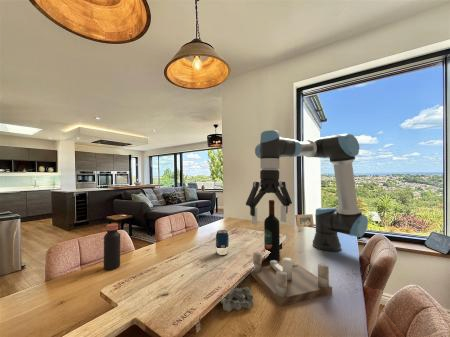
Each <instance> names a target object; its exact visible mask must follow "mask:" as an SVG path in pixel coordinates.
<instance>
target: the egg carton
mask: <svg viewBox="0 0 450 337" xmlns="http://www.w3.org/2000/svg"><path fill="white" fill-rule="evenodd" d="M232 289H233V290H232V291H231V292H230V293H229V294H228V295H227V296H226V297H225V298H223V299H222V300H221V299H220V303H221V304H222V309H223V310H224V311H227V312H229V313H230V312H232V310H234V309H236V310H237V311H240V310H242V309H243V308H246V309H252V307H253V306H254V301H255V298H254V296H253V294H252V292H251V289H250V288H249V286H246V287H241V288H238V287H235V288H232ZM234 298H235V300H233V299H234ZM246 298H247V299H246Z"/></svg>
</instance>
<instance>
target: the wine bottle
mask: <svg viewBox="0 0 450 337" xmlns="http://www.w3.org/2000/svg"><path fill="white" fill-rule="evenodd" d="M263 224H264V227H263V228H264V229H263V230H264V233H263V234H264V236H263V237H264V241H263V242H264V243H263V244H264V248H265V249H266V250H268V251H270V252H271V253H270V254H269V256H268V257H267V258H266V259H265V258H264V260H265V261H266V262H269V263H270V261H271V260H275V261H277V263H278V262H280V260H281V259H280V258H281V256H280V255H281V253H280V252H281V250H280V246H281V244H280V237H281V236H280V233H281V232H280V220H279V218H277V216H275V200H274V199H269V200H268V216H267V217H266V218H265V219H264V222H263Z"/></svg>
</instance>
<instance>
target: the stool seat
mask: <svg viewBox="0 0 450 337" xmlns="http://www.w3.org/2000/svg"><path fill="white" fill-rule="evenodd" d="M262 254H263V253H262V252H259V251H255V252H253V253H252V265H253V264H254V265H255V269H254V270H253V272H252V273H251V272H250V275H251V277H253V278H254V280H255V281H256V282H257V283H259V285H260V286H261V287H262V288H263V290H265V291H266V293H267V294H268V295H269V296H270V297H271V298H272V300H274V301H275V303H276V304H277V305H278V306H279V307H283V306H286V305H291V304H294V303H300V302H303V301H307V300H312V299H316V298H320V297H324V296H327V295H332V294H333V286H332V285H330V283H329V281H330V275H329V274H330V272H329V270H330V268H329V265H327V264H325V263H318V264H317V276H316V275H315V274H313V273H312V272H310V271H309V270H307V269H306V268H304V267H303V266H301V265H300V264H299V263H298V262H296V261H292V279H291V280H287V273H286V272H283V271H276V270H275V269H274V268H272V267H270V265H266V266H263V265H262V261H263V260H262V259H263V258H262V256H263V255H262ZM278 264H279V265H280V266H282V267H283V263H278Z"/></svg>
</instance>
